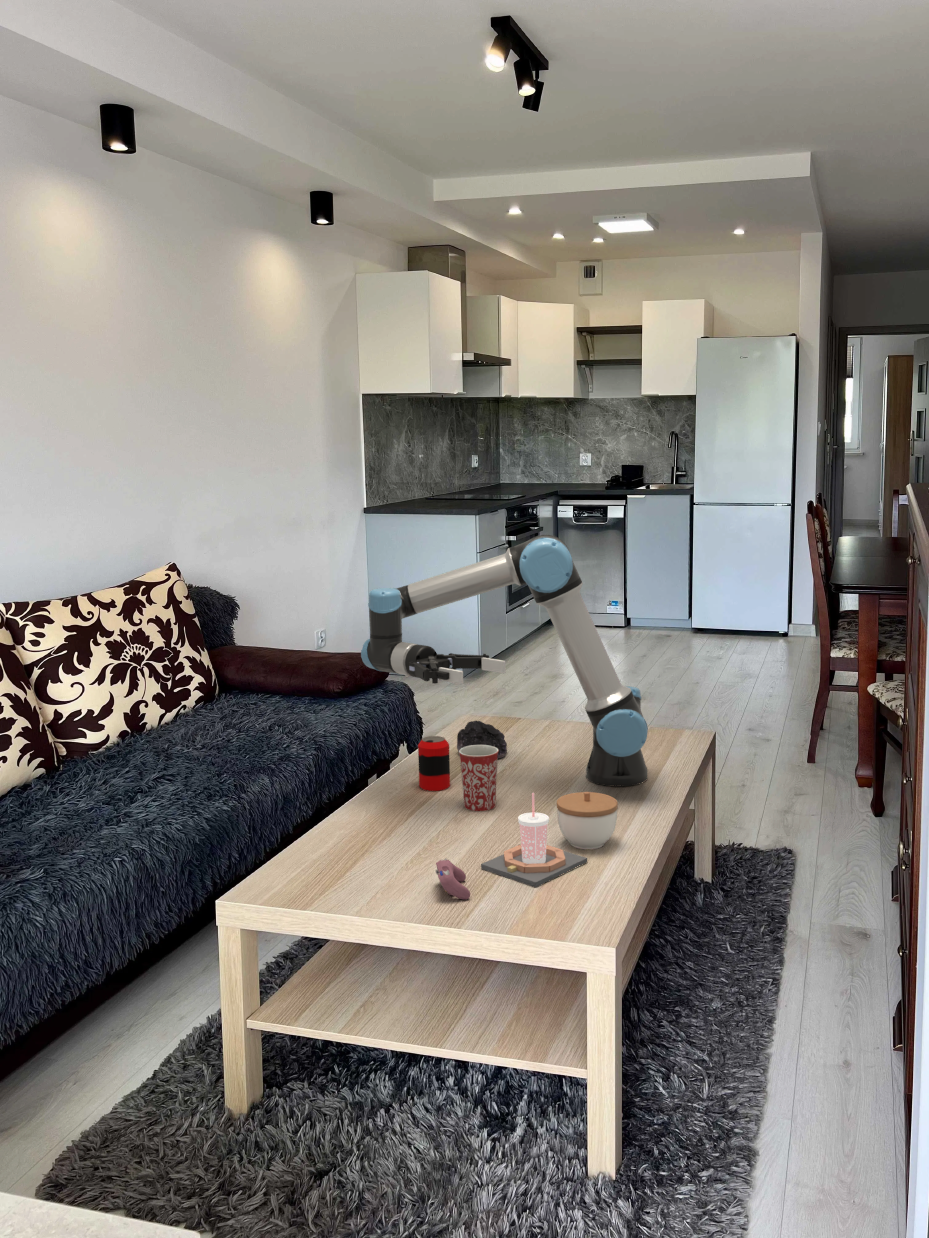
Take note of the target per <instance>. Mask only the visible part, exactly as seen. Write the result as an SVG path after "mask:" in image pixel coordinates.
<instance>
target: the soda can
mask: <svg viewBox="0 0 929 1238" xmlns="http://www.w3.org/2000/svg"><path fill="white" fill-rule="evenodd" d="M417 753H418V756H417V757H418V783H419V784H418V785H419V787H420V788H422V789H421V790H423V789H424V791H427V790H428V791H429V792H439V791H444V790H447V789H448V788H449V787H451V769H450V766H451V765H450V742H449V741H447V740H446V738H445V737H443V736H440V735H431V736H424V737H422V739H421V740H420V742H419V743H418V744H417Z"/></svg>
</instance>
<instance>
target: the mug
mask: <svg viewBox="0 0 929 1238" xmlns="http://www.w3.org/2000/svg"><path fill="white" fill-rule="evenodd" d="M498 751H499V750H498V748H496V747H493V746H489V745H471V746H466V747H463V748H461V749H460V750H459V752H458V754H460V756H459V760H460V761H459V762H460V768H461V769H460V770H461V771H460V772H461V782H462V783H461V784H462V794H463V796H462V797H463V806H464V808H465V810H469V811H472V812H486V811H491V810H493V809H494V808H495V807H496V803H497V801H496V800H497V796H496V795H497V779H498V778H497V775H498V759H497V755H498Z"/></svg>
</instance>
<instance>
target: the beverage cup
mask: <svg viewBox="0 0 929 1238" xmlns="http://www.w3.org/2000/svg"><path fill="white" fill-rule="evenodd" d="M535 810H536V809H535V792H532V793H531V812H525V813H522V814H520V815H518V817H517V820H518V821H517V822H518V824H519V832H520V834H519V835H520V845H521V848H522V861H523V863H526V864H536V863H545V861H546V845H548V843H547V841H548V840H547V839H548V825H549V821H550V816H548V814H545V813H543V812H536V811H535Z"/></svg>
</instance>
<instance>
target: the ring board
mask: <svg viewBox="0 0 929 1238" xmlns="http://www.w3.org/2000/svg"><path fill="white" fill-rule="evenodd" d="M586 862H587V863H588V857H585V856H582V855H578V854H575V853H573V852H569V851H566V850H563V849H562V848H559V847H554V846H552V845H549V844H546V861H545V863H536V864H526V863H523V861H522V848H521V844H518V845H516V846H514V847H510V848H509V849H506V850H504V851H503V854H500V855H499V856H497V857H494V858H492V859H489V860H487V861H485V862H482V863H481V864H480V869H481V870H483V871H486V872H490V873H492V874H495V875H498V876H501V877H504V878H507V879H510V880H513V881H516V882H518V883H521V884H525V885H526V886H531V887H533V886H534V888H538V887H540V886H542V885H544V884H545V882H546V883H548V882H550V881H552V880H554V879H556V878H558V877H557V876H559V875H561V874H563V873H565V874H566V872H567V871H569V870H571V869H573V868H575V867H577V866H579V865H582V864H584V863H586ZM587 863H586V864H587ZM584 865H585V864H584ZM582 866H583V865H582ZM579 867H580V866H579ZM577 868H578V867H577ZM575 869H576V868H575ZM573 870H574V869H573ZM571 871H572V870H571ZM569 872H570V871H569ZM567 873H568V872H567ZM563 875H564V874H563ZM561 876H562V875H561ZM555 877H556V878H555ZM559 877H560V876H559ZM553 878H554V879H553ZM551 879H552V880H551ZM549 880H550V881H549ZM547 881H548V882H547ZM543 883H544V884H543ZM541 884H542V885H541ZM539 885H540V886H539ZM537 886H538V887H537Z"/></svg>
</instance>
